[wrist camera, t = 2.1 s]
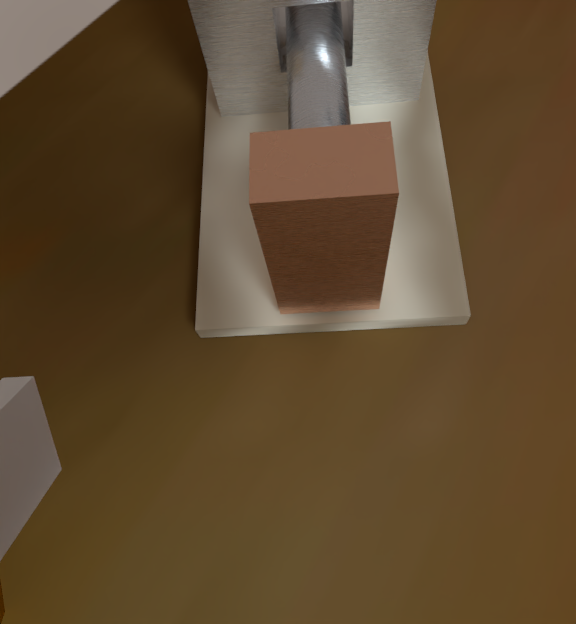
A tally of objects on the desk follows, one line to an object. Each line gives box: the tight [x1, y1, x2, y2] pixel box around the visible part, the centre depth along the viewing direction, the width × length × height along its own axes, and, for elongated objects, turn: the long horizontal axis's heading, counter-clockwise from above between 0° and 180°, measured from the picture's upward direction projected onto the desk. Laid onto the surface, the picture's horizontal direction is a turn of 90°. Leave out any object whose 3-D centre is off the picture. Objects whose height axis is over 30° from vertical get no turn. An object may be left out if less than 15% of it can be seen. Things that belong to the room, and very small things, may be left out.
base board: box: [195, 51, 471, 338], centre depth 32 cm, size 14×23×1 cm, turn 1°
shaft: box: [249, 1, 399, 314], centre depth 26 cm, size 5×18×10 cm, turn 1°
